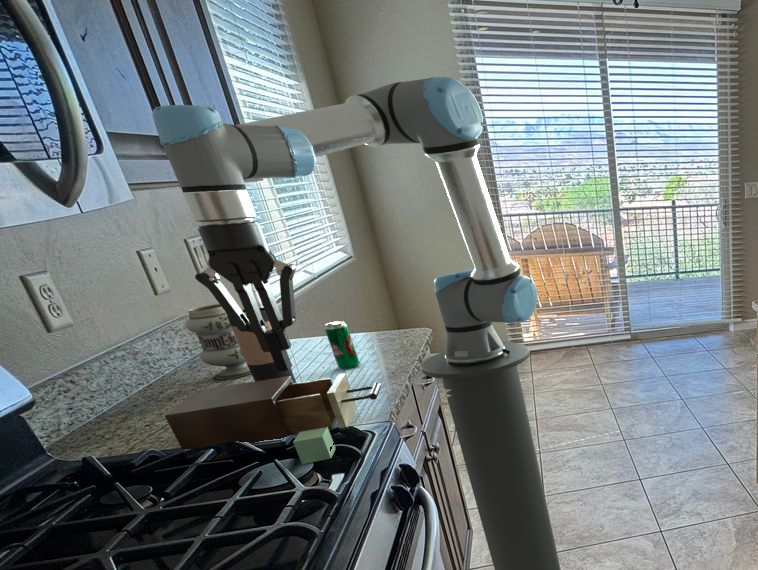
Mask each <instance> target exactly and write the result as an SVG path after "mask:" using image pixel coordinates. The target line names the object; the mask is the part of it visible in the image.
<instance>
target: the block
mask: <svg viewBox="0 0 758 570" xmlns="http://www.w3.org/2000/svg"><path fill="white" fill-rule="evenodd" d="M333 443H334V439H333V438H332V435H331V432H330V430H328V427H326V428H320V429H315V430H309V431H304V432H299V433H298V435H297V437H296V438H295V440H294V441H293V445H294V448H295V450H296V452H297V455H298V457H299V460H300V463H301V464H302V465H306V464H310V463H311V464H312V463H316V462H321V461H326V460H331V459H332V458H333V455H334V453H335V451H336V446H335V445H336V444H334V445H333ZM332 445H333V447H332V449H331V451H330V447H331V446H332Z"/></svg>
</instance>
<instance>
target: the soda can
mask: <svg viewBox="0 0 758 570" xmlns="http://www.w3.org/2000/svg"><path fill="white" fill-rule="evenodd" d="M324 331H325V334H326V337H327V340H328V343H329V346H330V349H331V352H332V354H333V357H334V360H335V362H336V366H337V368H339V369H340V370H351V369H354V368H356V367H358V366H359V365H360V364H361V363H360V359H359V357H358V354H357V351H356V347H355V344H354V342H353V338H352V336H351V332H350V330H349V328H348V325H347V324H346V323H345V321H344V320H337V321H331V322H328V323H325V324H324Z"/></svg>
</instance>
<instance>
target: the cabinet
mask: <svg viewBox="0 0 758 570" xmlns="http://www.w3.org/2000/svg"><path fill="white" fill-rule="evenodd" d="M289 384H293V381H292V378H291V376H288V377H282V378H275V379H269V380H262V381H255V380H254V381H250V382H249V381H248V382H243V383H237V384H236V383H235V384H230V385H222V386H215V387H209V388H202V389H196V390H194V391H193V392H192V393H191V394H190V395H188V396H187V397H186V398H185V399H183V400H181V402H180V403H178V404H177V405H176V406H175V407H173V408H172V409H171V410H170V411H169V412H167V413H166V414H165V415H164V417H165V419H166V422H167V423H168V424H169V427H170V429H171V430H172V431H171V432H172V433H173V434H174V436H175V438H176V440H177V442H178V444H179V446H180V448H181V450H182V451H183V450H185V449H194V448H204V447H209V446H210V445H215V444H220V443H226V442H234V441H239V442H249V443H255V442H259V441H264V440H273V439H281V438H284V437H287V436H289V434H288V432H287V429H286V427H285V424H284V422H283V420H282V417H281V415H280V412H279V410H278V408H277V405H276V403H275V400H276V399H277V398H278V397H279V395H280V394H281V393H282V392H283V391H284V389H285V388H286V387H287V386H288V385H289ZM239 456H240V455H223V456H218V457H216V458H214V459H213V460H212V461H216V460H222V459H223V460H224V459H228V458H234V457H239Z"/></svg>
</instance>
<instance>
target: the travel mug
mask: <svg viewBox="0 0 758 570" xmlns="http://www.w3.org/2000/svg"><path fill="white" fill-rule="evenodd" d="M259 309H260V312H261V315H262V317H263V320H264V322H265V325H266V326H268V328H267V329H266V330H267V331H268V330H271V329H272V327H271V325H270V322H269V320H268V317H267V315H266V312H265V310H264V307H259ZM241 310H242V311H243V313H244V314H245V316H246V317H247V315H246V312H245V310H244V309H241ZM227 318H228V320H229V322H230V325H231V327H232V330H233V332H234V334H235V337H236V339H237V342H238V344H239V347H240V349H241V351H242V354H243V356H244V359H245V361H246V362H245V364H247V366H248V368H249V370H250V372H251V374H250V375H251V376H252V378H253V380H254V382H255V381H262V380H269V379H275V378H282V377H288V376H291V378H292V381H293V383H297V381H296V378H295V376H294V375H295V374H294V372H293V369H292V367H291V368H290V369H289V370H288V371H281V372H278V371H277V368H276V366H275V363H274V361H273V358H272V356H271V353H270V352H265V353H264V352H263V350H262V349H261V346H260V344H259V342H258V339H257V337H256V335H255V334H254V333H252V332H247V331H245V332H242V331H240V330H239V329H238V328H237V327H236V325H235V324H234V323H233V321H232V320H231V319H230V317H229V316H228V315H227ZM247 318H248V317H247Z"/></svg>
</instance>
